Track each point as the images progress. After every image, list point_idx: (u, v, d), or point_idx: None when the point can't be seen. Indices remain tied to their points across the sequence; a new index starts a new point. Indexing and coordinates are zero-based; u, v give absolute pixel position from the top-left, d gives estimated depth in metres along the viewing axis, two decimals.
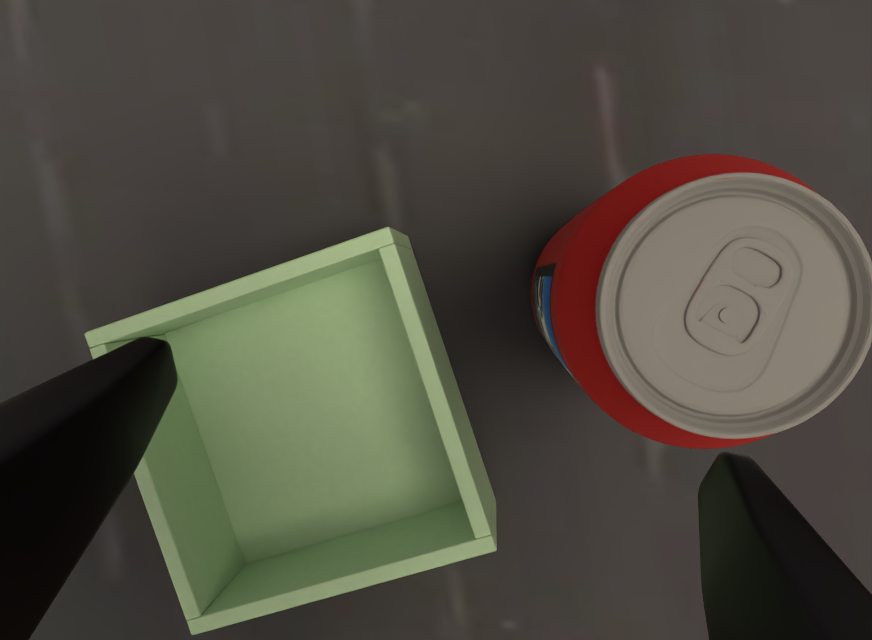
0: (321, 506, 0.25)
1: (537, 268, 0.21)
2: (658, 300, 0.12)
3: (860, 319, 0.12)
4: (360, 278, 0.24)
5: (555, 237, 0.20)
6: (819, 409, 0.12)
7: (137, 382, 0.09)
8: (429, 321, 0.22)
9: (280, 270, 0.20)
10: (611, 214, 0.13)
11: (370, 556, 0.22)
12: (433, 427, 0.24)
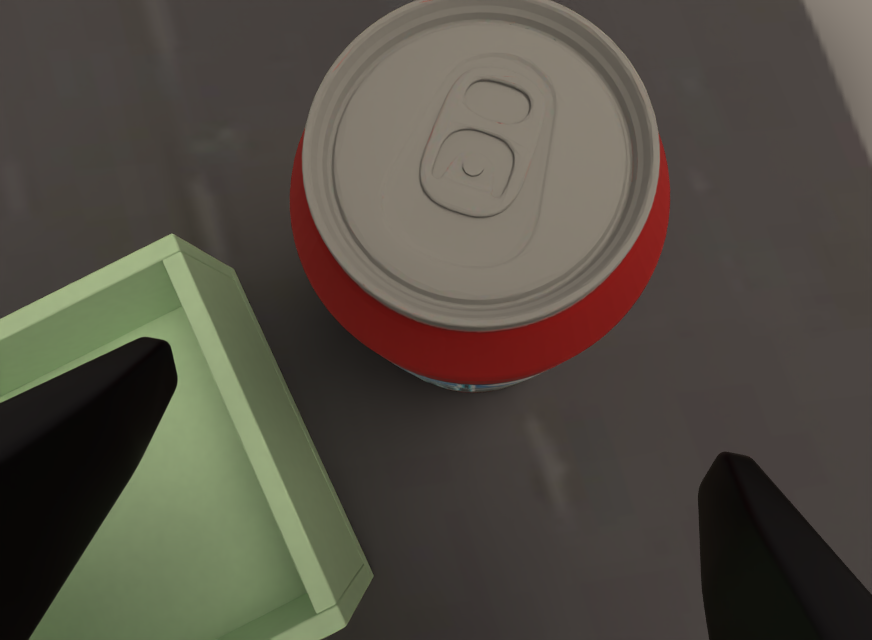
0: (150, 620, 0.19)
1: None
2: (382, 161, 0.09)
3: (641, 143, 0.09)
4: (180, 322, 0.21)
5: None
6: (614, 262, 0.08)
7: (137, 382, 0.09)
8: (251, 350, 0.18)
9: (46, 303, 0.17)
10: None
11: None
12: None
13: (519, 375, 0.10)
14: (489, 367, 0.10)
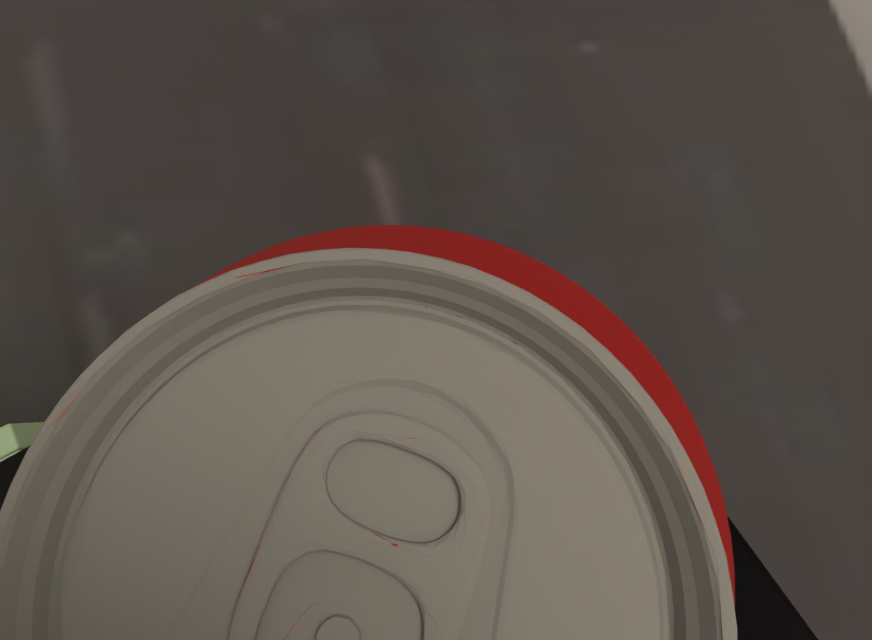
0: None
1: None
2: (151, 617, 0.04)
3: (694, 601, 0.04)
4: None
5: None
6: None
7: None
8: None
9: None
10: None
11: None
12: None
13: None
14: None
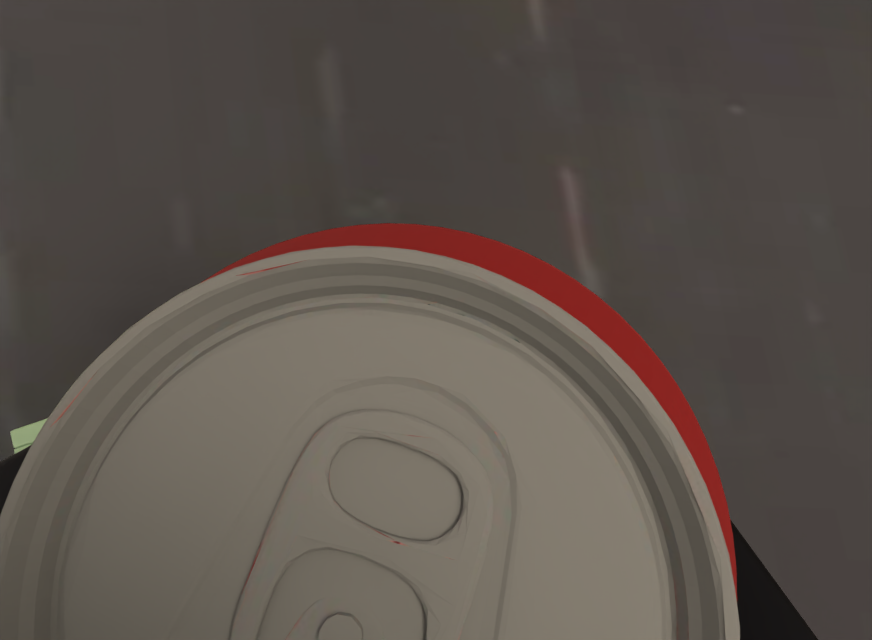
0: None
1: None
2: (153, 617, 0.04)
3: (697, 599, 0.04)
4: None
5: None
6: None
7: None
8: None
9: None
10: None
11: None
12: None
13: None
14: None
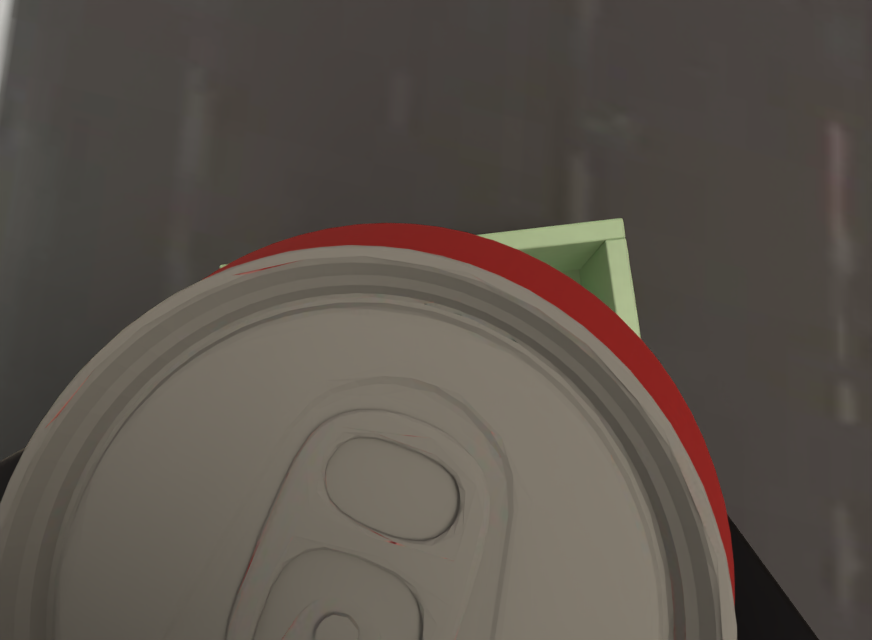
0: None
1: None
2: (151, 617, 0.04)
3: (694, 599, 0.04)
4: None
5: None
6: None
7: None
8: None
9: None
10: None
11: None
12: None
13: None
14: None
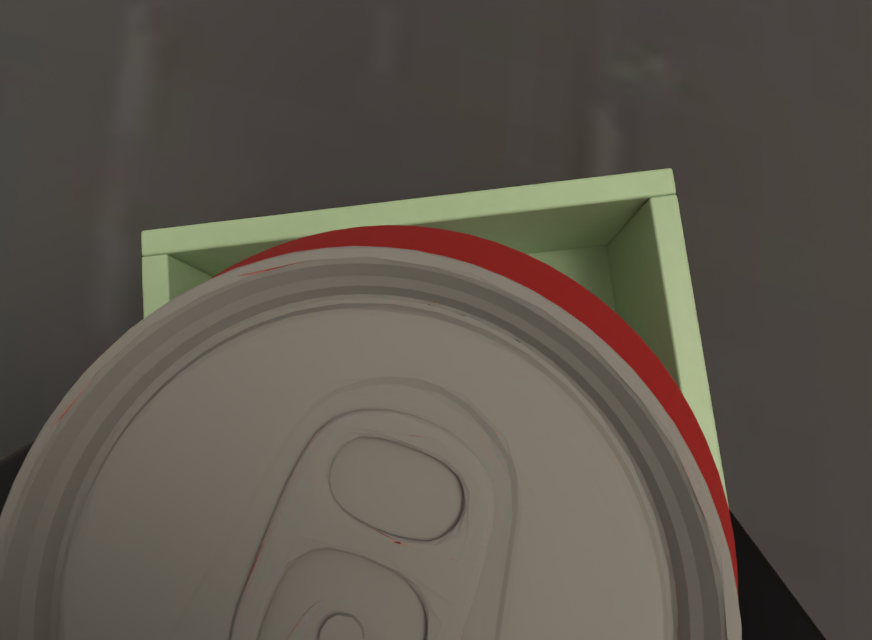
0: None
1: None
2: (154, 618, 0.04)
3: (698, 598, 0.04)
4: None
5: None
6: None
7: None
8: None
9: (484, 198, 0.13)
10: None
11: None
12: None
13: None
14: None
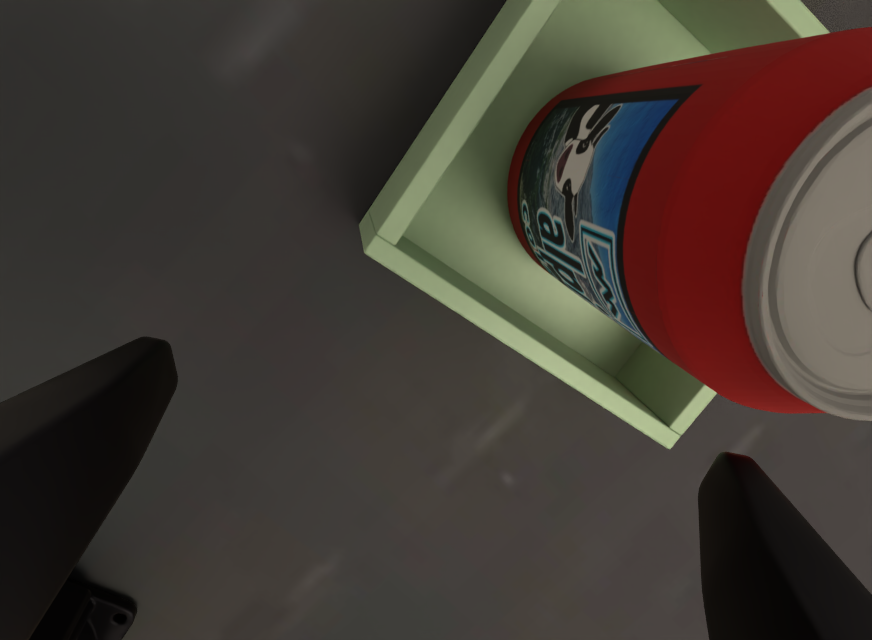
0: (505, 253, 0.20)
1: (568, 100, 0.16)
2: (862, 198, 0.08)
3: None
4: None
5: (626, 73, 0.15)
6: None
7: (137, 382, 0.09)
8: None
9: None
10: (865, 53, 0.09)
11: (561, 351, 0.18)
12: None
13: (726, 397, 0.11)
14: (727, 386, 0.10)
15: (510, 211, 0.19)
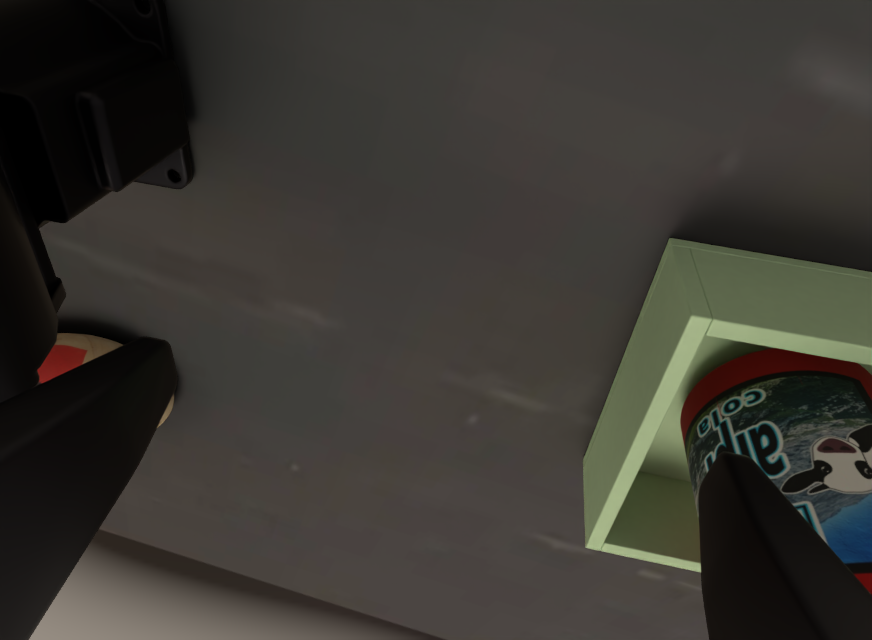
0: None
1: (867, 394, 0.18)
2: None
3: None
4: None
5: None
6: None
7: (137, 382, 0.09)
8: None
9: None
10: None
11: None
12: (681, 466, 0.25)
13: None
14: None
15: (734, 364, 0.21)
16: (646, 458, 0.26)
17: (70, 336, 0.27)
